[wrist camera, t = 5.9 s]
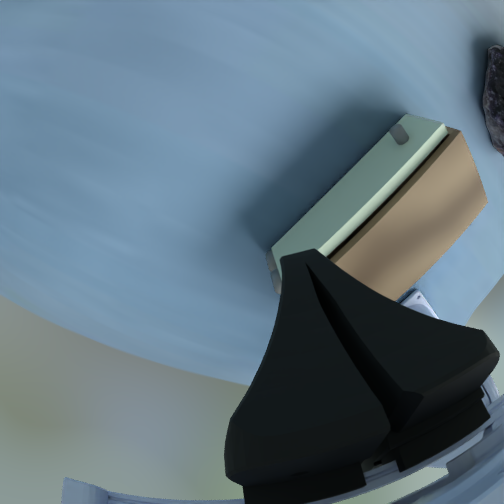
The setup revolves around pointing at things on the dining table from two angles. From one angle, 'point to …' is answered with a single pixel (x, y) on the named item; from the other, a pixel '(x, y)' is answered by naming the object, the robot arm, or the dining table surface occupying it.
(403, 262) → the cabinet
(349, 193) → the door
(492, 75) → the crystal cluster
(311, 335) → the robot arm
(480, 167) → the dining table surface
